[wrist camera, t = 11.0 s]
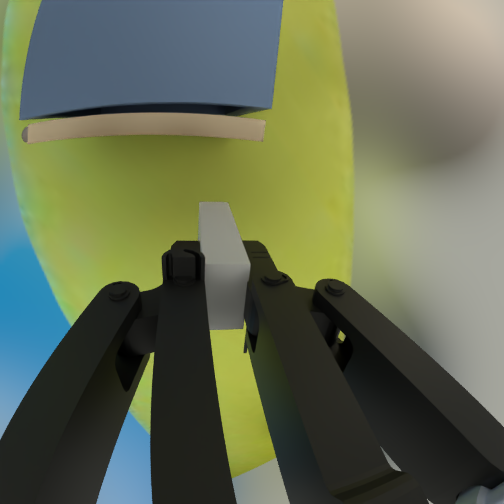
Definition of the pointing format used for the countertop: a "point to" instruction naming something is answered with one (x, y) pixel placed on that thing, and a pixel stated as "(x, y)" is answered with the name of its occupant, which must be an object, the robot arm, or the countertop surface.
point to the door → (146, 126)
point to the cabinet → (151, 57)
